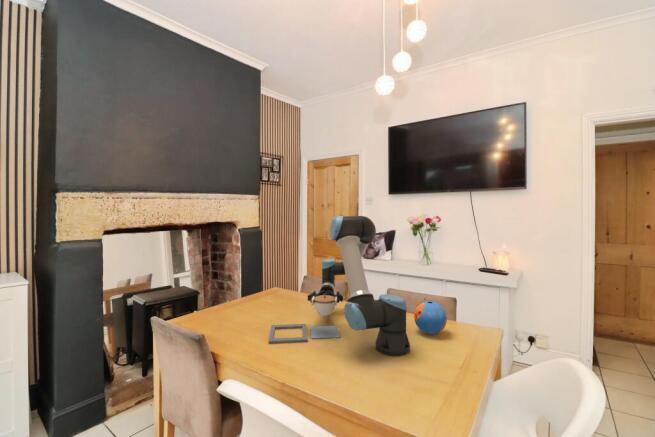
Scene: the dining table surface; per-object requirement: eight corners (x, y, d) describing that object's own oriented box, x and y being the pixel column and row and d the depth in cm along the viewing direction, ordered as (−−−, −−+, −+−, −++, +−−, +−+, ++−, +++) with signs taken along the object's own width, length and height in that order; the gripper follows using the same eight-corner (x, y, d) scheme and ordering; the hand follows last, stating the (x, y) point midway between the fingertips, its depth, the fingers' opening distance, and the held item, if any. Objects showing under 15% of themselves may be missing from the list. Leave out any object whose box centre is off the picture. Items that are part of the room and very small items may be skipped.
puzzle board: (307, 342, 148) (307, 339, 148) (268, 343, 146) (268, 341, 146) (306, 325, 167) (306, 323, 167) (271, 327, 166) (271, 325, 165)
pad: (340, 337, 152) (340, 336, 152) (311, 339, 151) (311, 338, 151) (336, 326, 166) (336, 325, 166) (310, 327, 165) (310, 327, 165)
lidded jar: (336, 310, 163) (336, 292, 163) (334, 317, 153) (334, 298, 152) (315, 309, 164) (315, 291, 164) (312, 316, 154) (312, 297, 153)
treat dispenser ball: (449, 340, 149) (449, 308, 148) (415, 337, 152) (415, 306, 151) (443, 328, 164) (444, 298, 164) (413, 325, 167) (413, 297, 167)
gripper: (348, 297, 175) (347, 311, 153) (306, 297, 177) (300, 310, 155) (348, 284, 175) (347, 295, 153) (306, 283, 177) (300, 295, 155)
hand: (324, 303), depth 154 cm, fingers closed on lidded jar, 11 cm apart
